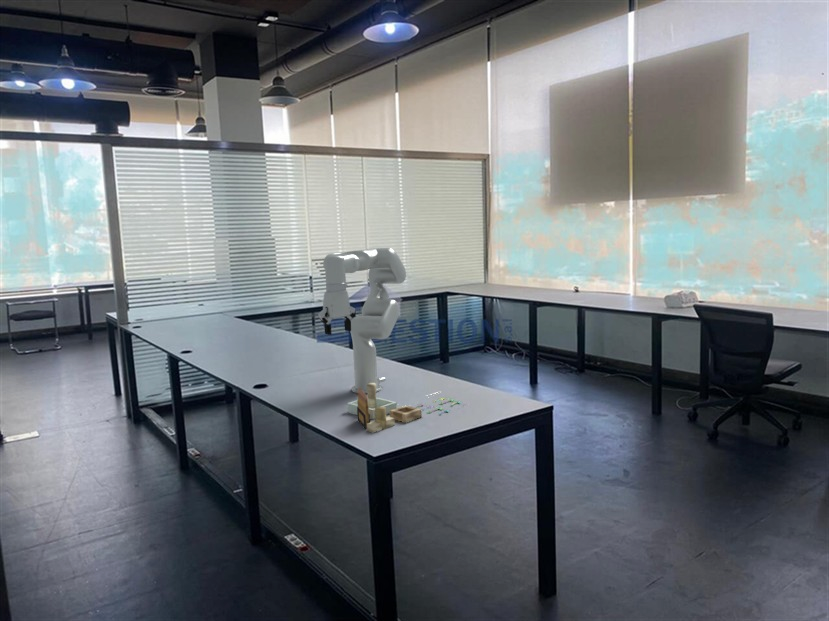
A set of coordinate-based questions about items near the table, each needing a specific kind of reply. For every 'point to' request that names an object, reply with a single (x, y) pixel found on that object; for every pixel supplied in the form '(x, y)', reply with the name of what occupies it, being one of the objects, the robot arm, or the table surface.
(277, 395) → the table surface
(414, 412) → the square wooden box
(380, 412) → the bench dog
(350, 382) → the table surface
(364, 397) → the ammunition clip
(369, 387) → the dowel
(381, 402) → the tray
